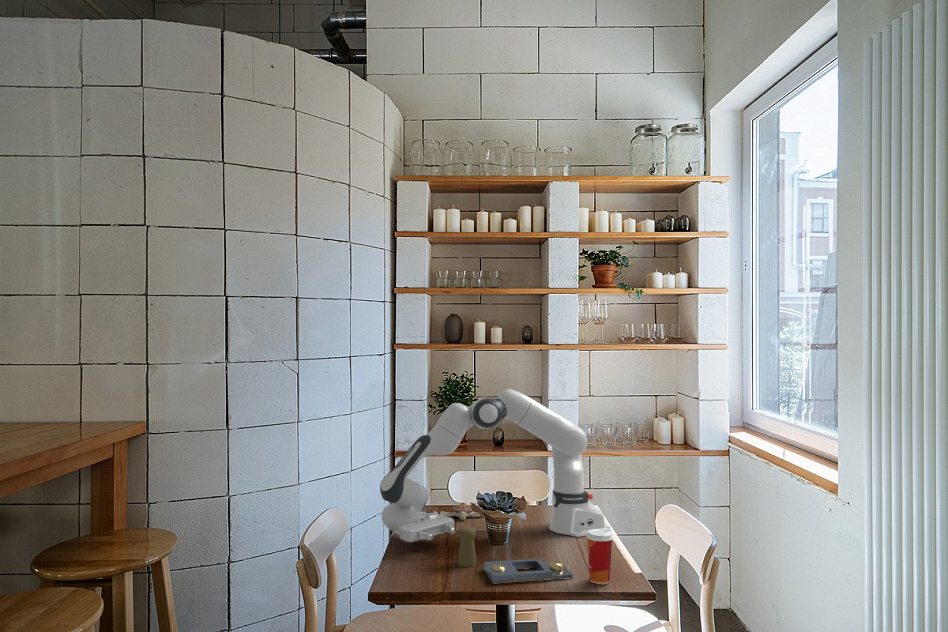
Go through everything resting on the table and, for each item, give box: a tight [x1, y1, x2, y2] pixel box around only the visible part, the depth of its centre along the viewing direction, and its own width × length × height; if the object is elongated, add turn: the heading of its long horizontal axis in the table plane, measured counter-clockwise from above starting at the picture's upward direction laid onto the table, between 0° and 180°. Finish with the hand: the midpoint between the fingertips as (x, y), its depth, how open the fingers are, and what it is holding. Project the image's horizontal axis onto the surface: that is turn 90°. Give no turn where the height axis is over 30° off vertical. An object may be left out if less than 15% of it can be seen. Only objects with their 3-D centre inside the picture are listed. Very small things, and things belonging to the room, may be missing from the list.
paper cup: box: [585, 529, 614, 582], centre depth 181 cm, size 8×8×14 cm
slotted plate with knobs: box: [483, 558, 574, 583], centre depth 185 cm, size 24×12×3 cm, turn 102°
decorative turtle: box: [439, 503, 481, 521], centre depth 248 cm, size 18×17×5 cm
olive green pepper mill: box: [456, 526, 478, 568], centre depth 194 cm, size 6×6×11 cm
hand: (442, 534), depth 203 cm, fingers open, 8 cm apart
